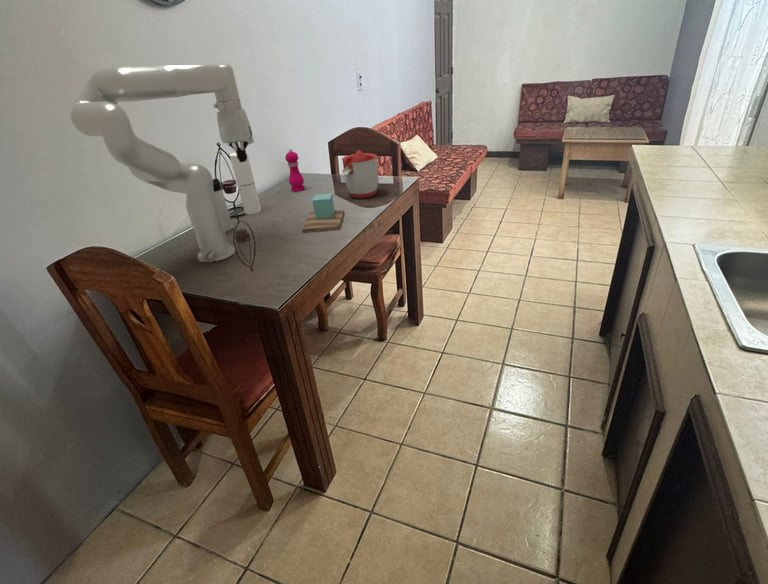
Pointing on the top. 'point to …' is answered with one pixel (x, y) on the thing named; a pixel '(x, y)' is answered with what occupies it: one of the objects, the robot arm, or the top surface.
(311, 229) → the board
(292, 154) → the pepper mill
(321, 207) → the mint green cube
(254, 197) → the cylindrical container
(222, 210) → the travel mug
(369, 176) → the citrus juicer
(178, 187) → the robot arm
